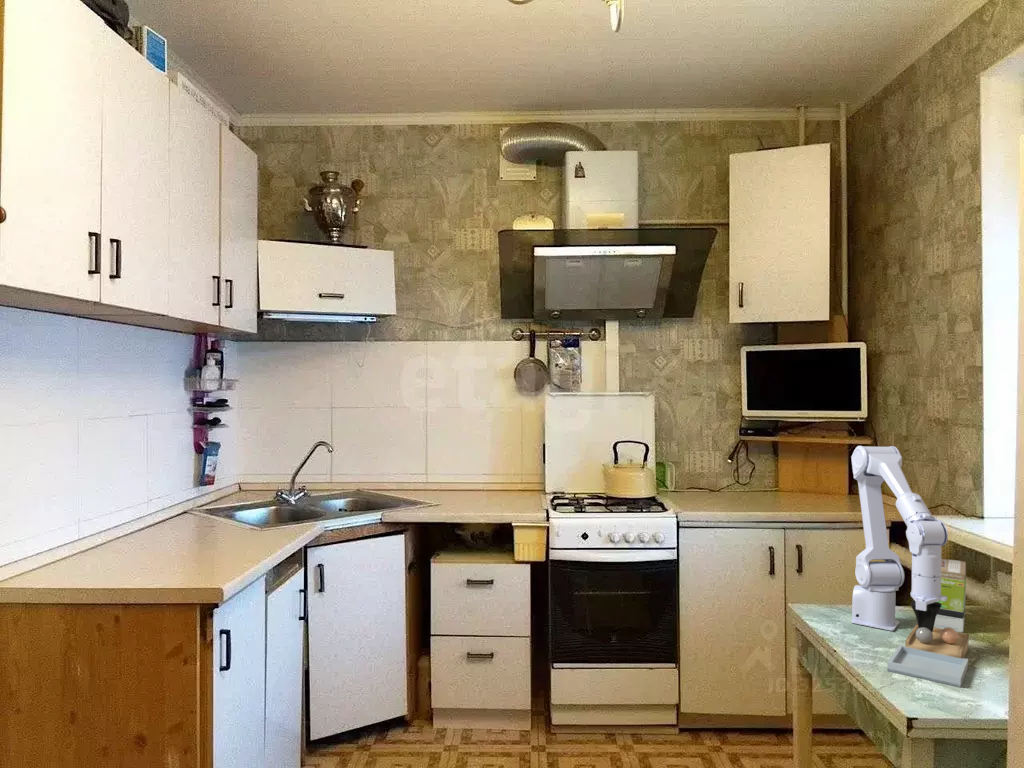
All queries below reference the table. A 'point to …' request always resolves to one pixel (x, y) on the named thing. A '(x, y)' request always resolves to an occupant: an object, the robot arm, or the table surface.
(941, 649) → the oak tray
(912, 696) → the table surface
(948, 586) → the tea box
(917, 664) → the ceramic dish
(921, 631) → the pebble grey
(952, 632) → the pebble terracotta
